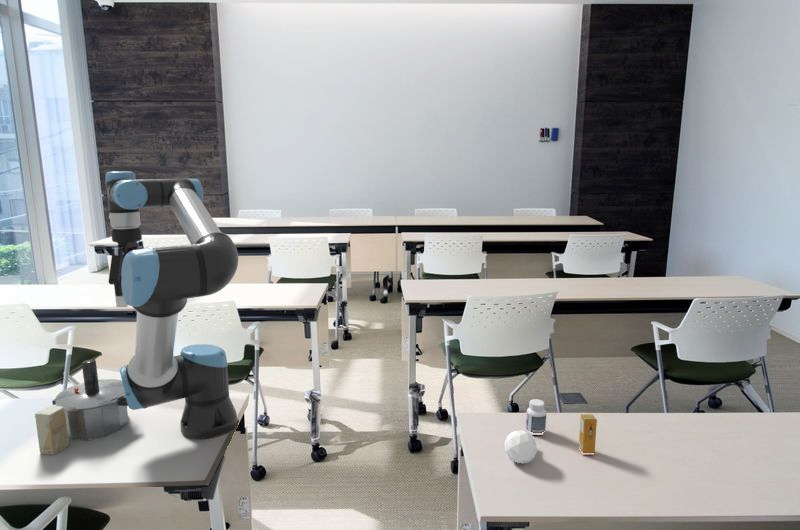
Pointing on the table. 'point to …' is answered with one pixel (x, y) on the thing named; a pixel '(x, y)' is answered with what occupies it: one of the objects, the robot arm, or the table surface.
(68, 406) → the lid
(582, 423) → the supplement box
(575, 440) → the table surface
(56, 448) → the box
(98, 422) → the pot
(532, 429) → the pill bottle
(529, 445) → the white faceted ovoid
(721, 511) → the table surface
